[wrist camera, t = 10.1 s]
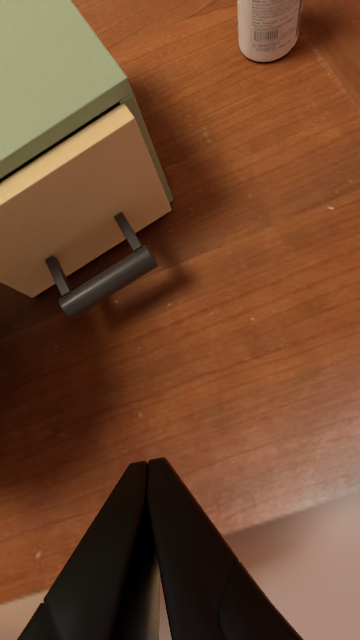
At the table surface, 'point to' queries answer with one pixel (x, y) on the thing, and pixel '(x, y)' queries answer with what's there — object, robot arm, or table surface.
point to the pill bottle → (268, 27)
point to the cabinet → (55, 80)
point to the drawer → (80, 211)
